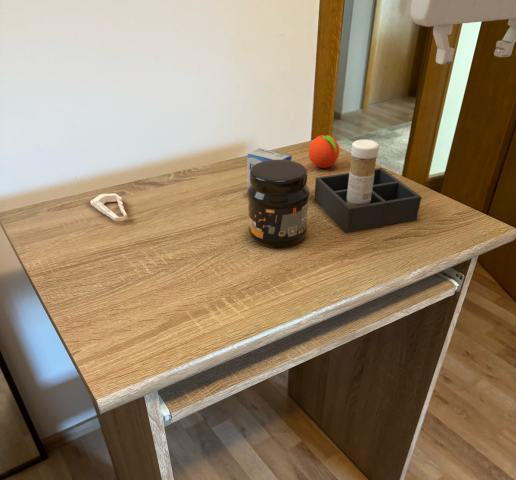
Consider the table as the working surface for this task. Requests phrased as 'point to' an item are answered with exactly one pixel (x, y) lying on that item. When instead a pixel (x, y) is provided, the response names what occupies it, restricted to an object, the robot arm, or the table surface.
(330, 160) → the clementine
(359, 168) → the sprinkles bottle
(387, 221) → the rack
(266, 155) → the medicine box
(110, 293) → the table surface
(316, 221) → the table surface
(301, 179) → the supplement container
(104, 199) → the cream triangular ring
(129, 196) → the table surface
